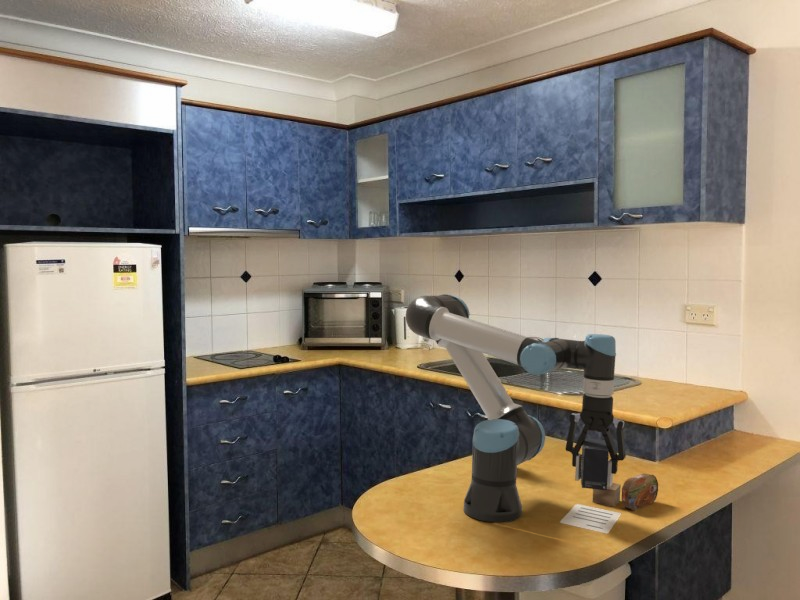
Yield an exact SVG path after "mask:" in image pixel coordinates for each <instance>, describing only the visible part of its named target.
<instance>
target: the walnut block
mask: <svg viewBox="0 0 800 600" xmlns="http://www.w3.org/2000/svg"><path fill="white" fill-rule="evenodd" d="M621 487H622V486H621V484H620V483H617V482H616V483H615V482H613V484H612V485H611V487H607V490H599V489H592V503H595V504H599V505H603V506H609V507H614V508H615V507H616V506H617V505H618V504H619V502H620V500H621V489H622V488H621Z"/></svg>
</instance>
